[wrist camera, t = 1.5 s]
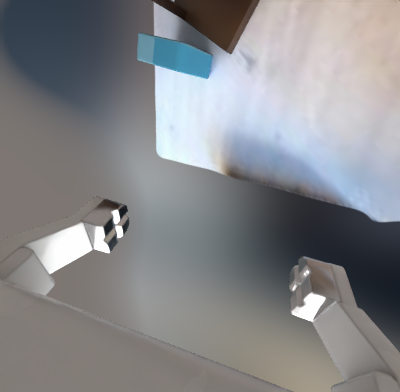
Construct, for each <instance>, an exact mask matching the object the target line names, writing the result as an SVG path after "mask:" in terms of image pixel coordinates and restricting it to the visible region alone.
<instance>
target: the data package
mask: <svg viewBox="0 0 400 392" xmlns="http://www.w3.org/2000/svg"><path fill="white" fill-rule="evenodd" d="M212 58H213V56H212V55H211V54H209V53H206V52H204V51H202V50H200V49H198V48H195V47H193V46H191V45H189V44H186V43H183V42H180V41H176V40H171V39H167V38H162V37H158V36H153V35H149V34H144V33H139V35H138V51H137V59H138V60H140V61H143V62H147V63H150V64H153V65H157V66H160V67H164V68H167V69H171V70H174V71H178V72H181V73H185V74H190V75H194V76H198V77H202V78H206V79H208V76H209V72H210V67H211V63H212Z"/></svg>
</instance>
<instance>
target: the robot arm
mask: <svg viewBox="0 0 400 392" xmlns="http://www.w3.org/2000/svg"><path fill="white" fill-rule="evenodd" d="M127 211H128V210H127V206H126V205H124V204H121V203H118V202H114V201H111V200H108V199H105V198H101V197H98V196H96V197H93V198H92V199H91V200H90V201H89V202H88V203H87V204H85V205H84V206H83V207H82V208H81V209H79V210H78V211H77V212H76V213H75V214H74V215H73V216H71V217H70V218H69V217H65V218H62V219H59V220H56V221H54V222H51V223H48V224H45V225H42V226H39V227H36V228H33V229H30V230H27V231H24V232H21V233H18V234H15V235H12V236H10V237H6V238H4V239H2V240H1V241H0V392H292V391H290V390H288V389H285V388H282V387H280V386H277V385H275V384H272V383H269V382H267V381H264V380H262V379H259V378H256V377H254V376H251V375H249V374H246V373H244V372H241V371H238V370H236V369H233V368H230V367H228V366H226V365H223V364H220V363H218V362H215V361H213V360H210V359H207V358H205V357H202V356H200V355H197V354H195V353H192V352H189V351H187V350H184V349H182V348H179V347H176V346H174V345H171V344H169V343H166V342H163V341H161V340H158V339H156V338H153V337H151V336H148V335H145V334H143V333H140V332H138V331H135V330H132V329H130V328H127V327H124V326H122V325H119V324H117V323H114V322H112V321H109V320H107V319H103V318H101V317H98V316H96V315H94V314H91V313H88V312H86V311H83V310H80V309H78V308H75V307H73V306H70V305H68V304H65V303H63V302H60V301H57V300H55V299H52V298H50V297H47V296H45V295H46V294H47V293H48V292H49V291H50V290H51V289H52V287H53V286H54V285H55V281H54V280H53V278H52V277H51V276H50V274H51V273H53V272H54V271H56V270H58V269H60V268H61V267H63V266H65V265H67V264H68V263H70V262H72V261H74V260H75V259H77V258H79V257H81V256H82V255H84V254H86V253H88V252H90V251H91V250H93V249H97V250H100V251H103V252H106V253H110V252H111V251H112V249H113V248H114V247H115V245H116V244H117V243H118V238H119V237H121V236H123V235H124V234H125V232H126V231H127V229H128V226H129V217H128V216H127V214H126V212H127ZM289 288H290V290H291V291H292V293H293V294H292V296H291V297H290V306H291V314H293V315H296V316H299V317H302V318H304V319H307V320H310V321H313V322H312V323H313V325H314V326H315V328H316V330H317V332H318V334H319V335H320V337H321V339H322V341H323V343H324V344H325V346H326V348H327V350H328V352H329V354H330V355H331V357H332V359H333V361H334V363H335V364H336V366H337V368H338V370H339V372H340V373H341V375H342V377H343V379H344V382H342V383H339V384H336V385H334V386H332V387H331V392H400V353H399V351H398V350H397V349H396V348H395V347H394V346H393V345H392V343H391V342H390V341H389V340H388V339H387V338H386V337H385V336H384V334H383V333H382V332H381V331H380V330H379V329H378V327H377V326H376V325H375V324H374V323H373V322H372V320H371V319H370V318H369V317H368V316H367V315H366V314H365V313H364V311H363V310H362V309H359V308H357V305H356V302H355V299H354V296H353V293H352V290H351V287H350V284H349V281H348V278H347V275H346V272H345V270H344V268H343V267H341V266H337V265H333V264H330V263H327V262H323V261H320V260H316V259H312V258H309V257H305V256H302V257H301V258H300V259H299V260H298V265H297V266H295V267H293V269H292V270H291V273H290V276H289Z"/></svg>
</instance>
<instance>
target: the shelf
mask: <svg viewBox="0 0 400 392" xmlns="http://www.w3.org/2000/svg"><path fill="white" fill-rule="evenodd" d="M152 1H154V2H155V3H157V4H159V5H160V6H162V7H163V8H165V9H167V10H168V11H170V12H172V13H173V14H175V15H177V16H178V17H180V18H182V19H183V20H185V21H186V22H187V23H189V24H190V25H191V26H193V27H194V28H195V29H197V30H198V31H199V32H201V33H202V34H203V35H205V36H206V37H207V38H209V39H210V40H211V41H213V42H214V43H215V44H217V45H218V46H219V47H221V48H222V49H223V50H225V51H226V52H228V53H230V54H231V53H232V51H233V50H234V48H235V46H236V44H237V42H238V40H239V38H240V36H241V35H242V33H243V31H244V29H245V27H246V25H247V23H248V21H249V19H250V18H251V16H252V14H253V12H254V10H255V8H256V6H257V4H258V3H259V1H260V0H175V1H174V2H173V1H172V0H152Z"/></svg>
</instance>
